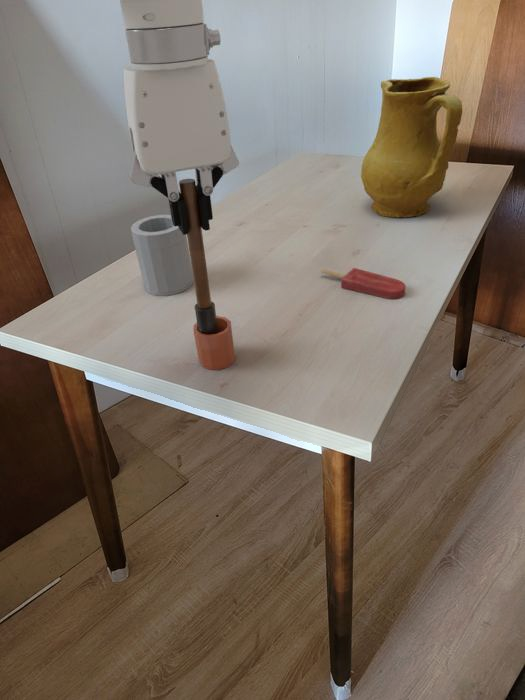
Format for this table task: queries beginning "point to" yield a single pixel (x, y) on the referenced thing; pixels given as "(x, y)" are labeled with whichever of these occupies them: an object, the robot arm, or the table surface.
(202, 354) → the pen cup
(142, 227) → the grey hollow cylinder
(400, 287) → the popsicle
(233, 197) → the table surface
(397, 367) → the table surface
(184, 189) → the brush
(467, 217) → the table surface
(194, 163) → the robot arm
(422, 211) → the pitcher
